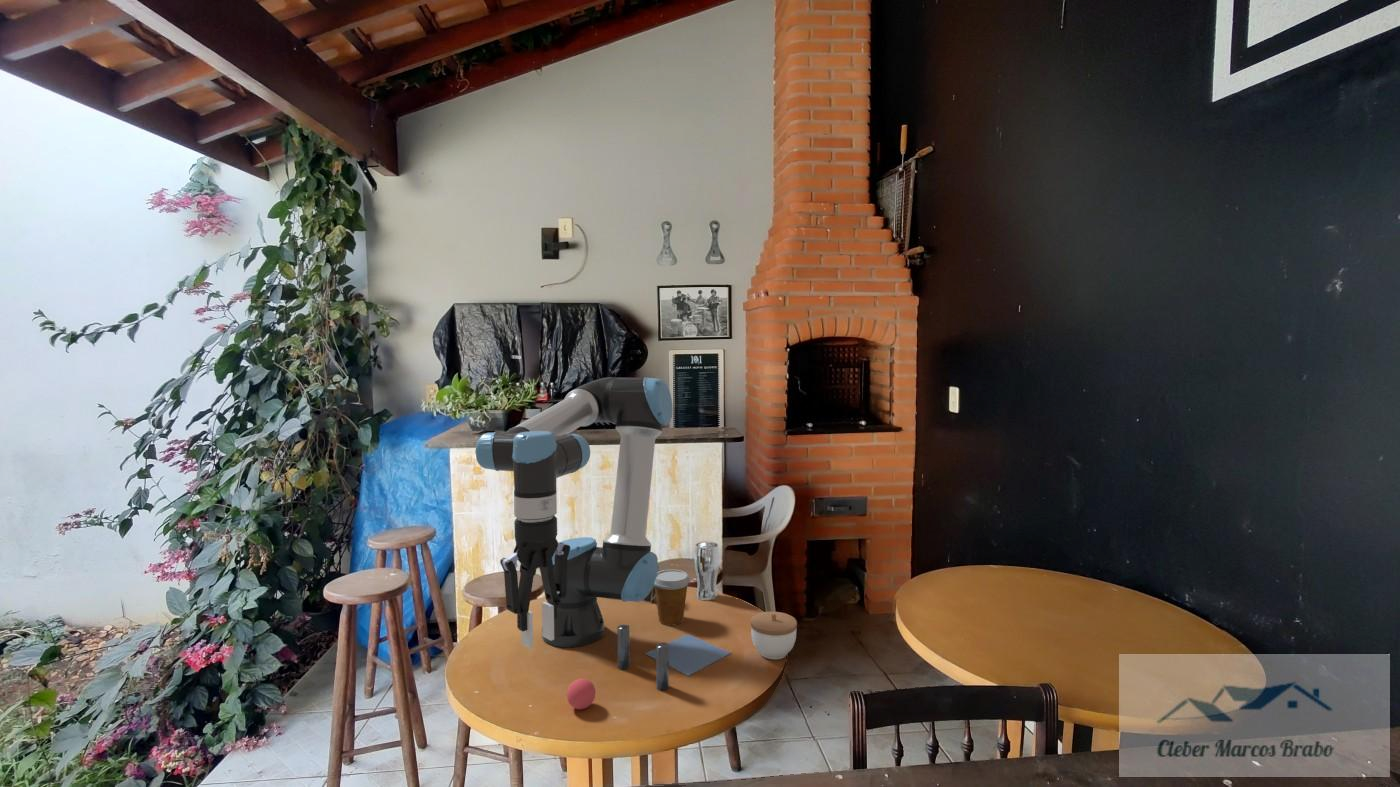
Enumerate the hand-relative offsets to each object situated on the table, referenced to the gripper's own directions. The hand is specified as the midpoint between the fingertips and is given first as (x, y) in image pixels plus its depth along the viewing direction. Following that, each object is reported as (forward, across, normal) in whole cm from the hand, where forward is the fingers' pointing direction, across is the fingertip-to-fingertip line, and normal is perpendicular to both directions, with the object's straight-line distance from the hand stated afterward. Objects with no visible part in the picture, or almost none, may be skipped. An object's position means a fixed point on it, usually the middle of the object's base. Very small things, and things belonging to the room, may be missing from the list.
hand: (538, 641), depth 117 cm
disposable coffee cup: (+17, +50, +16) cm, 55 cm away
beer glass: (+17, +68, +20) cm, 72 cm away
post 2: (+17, +26, -6) cm, 31 cm away
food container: (+17, +56, +33) cm, 67 cm away
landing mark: (+17, +40, 0) cm, 43 cm away
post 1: (+17, +26, +6) cm, 31 cm away
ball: (+14, +10, 0) cm, 17 cm away
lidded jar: (+17, +54, -14) cm, 58 cm away
